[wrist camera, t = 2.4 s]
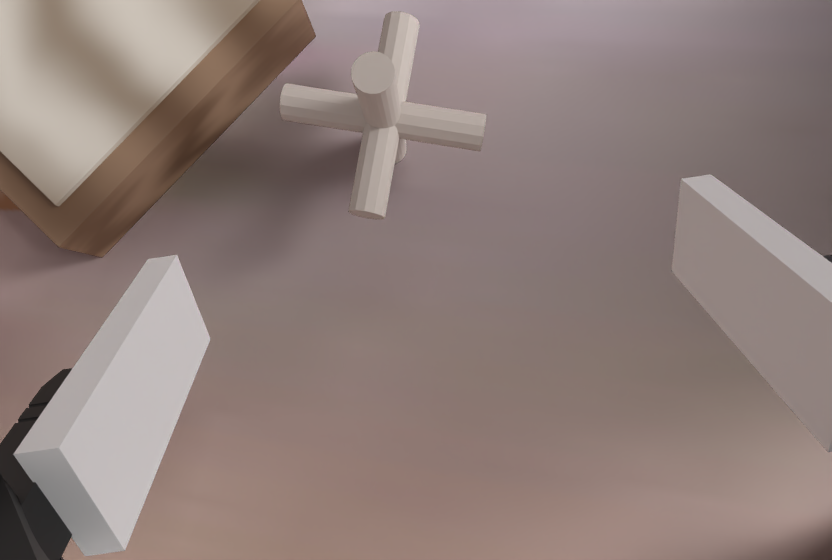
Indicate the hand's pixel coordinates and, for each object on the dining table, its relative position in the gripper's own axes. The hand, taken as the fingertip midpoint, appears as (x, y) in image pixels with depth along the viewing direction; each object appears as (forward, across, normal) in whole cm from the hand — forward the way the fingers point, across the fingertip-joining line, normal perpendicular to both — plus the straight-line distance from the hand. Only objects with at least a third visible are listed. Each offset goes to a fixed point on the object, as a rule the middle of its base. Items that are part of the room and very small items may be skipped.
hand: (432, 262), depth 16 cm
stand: (+25, -17, +4) cm, 31 cm away
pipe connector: (+20, -1, -3) cm, 20 cm away
